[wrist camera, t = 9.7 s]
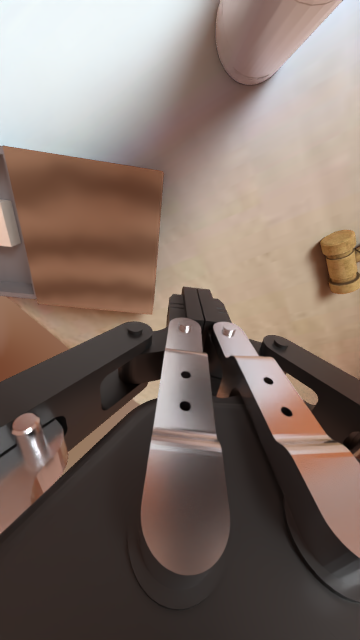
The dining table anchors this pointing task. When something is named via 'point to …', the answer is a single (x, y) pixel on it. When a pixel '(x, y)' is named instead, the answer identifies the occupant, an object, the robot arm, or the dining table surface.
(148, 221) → the brown wooden box
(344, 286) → the gavel
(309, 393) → the dining table surface
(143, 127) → the dining table surface
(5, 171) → the box
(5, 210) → the tile
